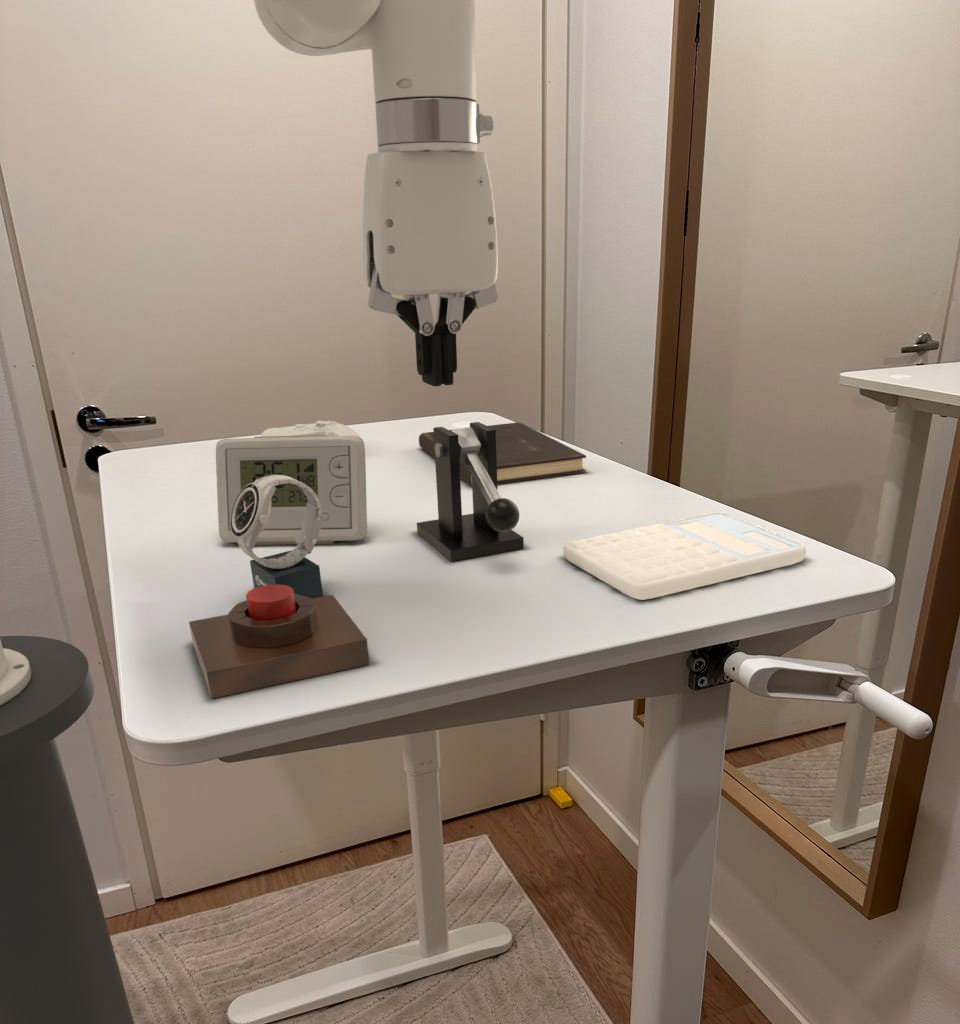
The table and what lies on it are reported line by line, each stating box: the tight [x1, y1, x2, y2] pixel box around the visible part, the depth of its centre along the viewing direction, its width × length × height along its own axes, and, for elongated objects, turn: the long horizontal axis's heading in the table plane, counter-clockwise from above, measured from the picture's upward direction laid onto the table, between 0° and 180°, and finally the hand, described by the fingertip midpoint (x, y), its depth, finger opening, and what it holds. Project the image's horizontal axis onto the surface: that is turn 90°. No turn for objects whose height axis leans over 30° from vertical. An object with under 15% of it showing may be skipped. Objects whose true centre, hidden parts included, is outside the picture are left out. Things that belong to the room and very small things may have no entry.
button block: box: [188, 594, 370, 700], centre depth 71 cm, size 12×10×4 cm
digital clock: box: [215, 435, 368, 546], centre depth 96 cm, size 16×9×11 cm, turn 75°
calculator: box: [562, 511, 807, 601], centre depth 87 cm, size 13×20×2 cm, turn 116°
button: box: [245, 584, 296, 620], centre depth 70 cm, size 4×4×2 cm
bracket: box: [416, 421, 525, 562], centre depth 93 cm, size 10×8×12 cm
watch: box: [231, 475, 324, 599], centre depth 81 cm, size 6×8×11 cm
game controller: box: [260, 420, 360, 437], centre depth 131 cm, size 14×4×10 cm
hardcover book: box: [418, 421, 587, 487], centre depth 125 cm, size 16×23×2 cm
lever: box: [451, 426, 520, 532], centre depth 88 cm, size 13×3×3 cm, turn 23°
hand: (437, 382), depth 75 cm, fingers closed
